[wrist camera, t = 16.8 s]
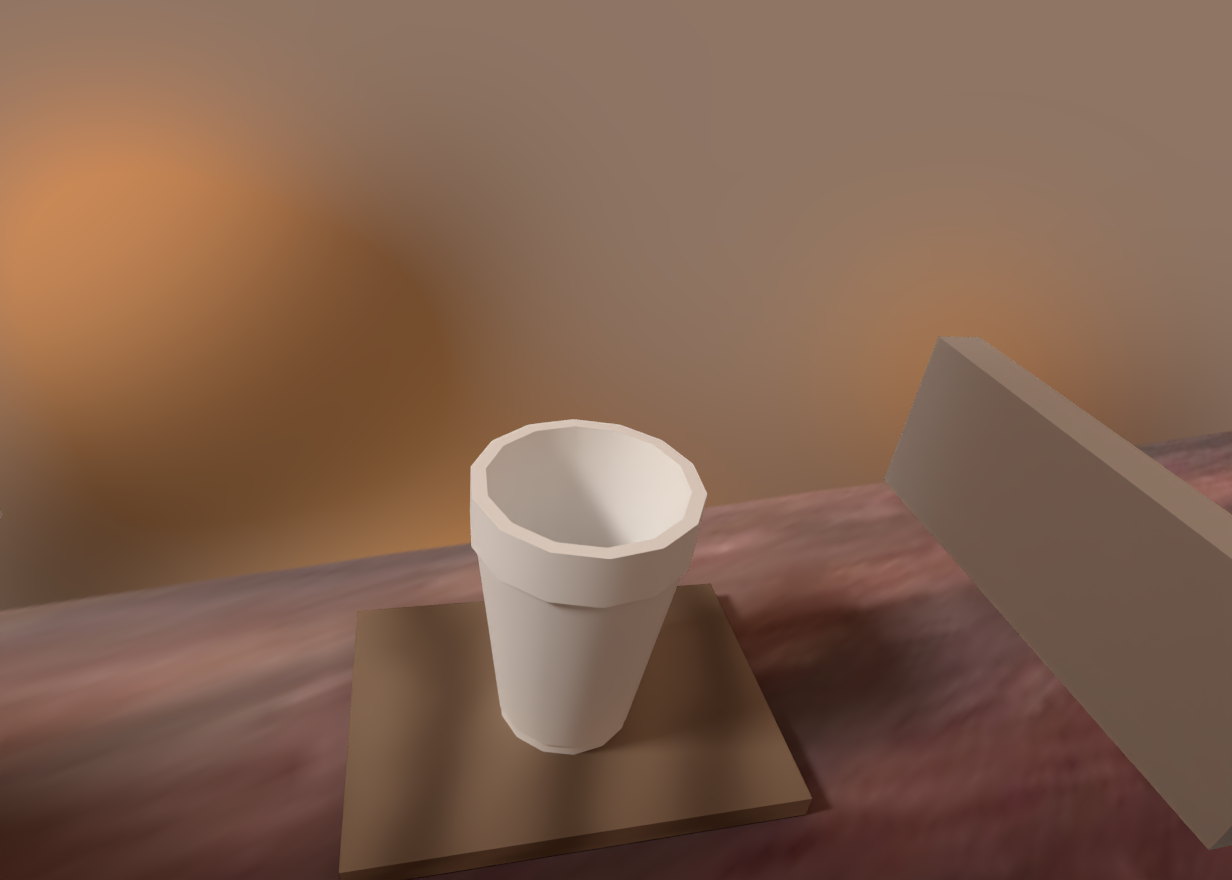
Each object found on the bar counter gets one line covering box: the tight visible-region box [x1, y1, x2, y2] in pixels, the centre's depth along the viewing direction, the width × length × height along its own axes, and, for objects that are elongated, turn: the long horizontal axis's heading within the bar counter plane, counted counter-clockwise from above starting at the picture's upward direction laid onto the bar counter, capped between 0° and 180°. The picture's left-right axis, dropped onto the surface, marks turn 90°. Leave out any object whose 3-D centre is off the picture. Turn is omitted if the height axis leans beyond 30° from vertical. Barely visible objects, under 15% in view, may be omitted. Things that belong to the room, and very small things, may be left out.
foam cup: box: [470, 419, 707, 755], centre depth 34 cm, size 10×9×13 cm
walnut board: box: [339, 584, 812, 880], centre depth 38 cm, size 20×14×1 cm
